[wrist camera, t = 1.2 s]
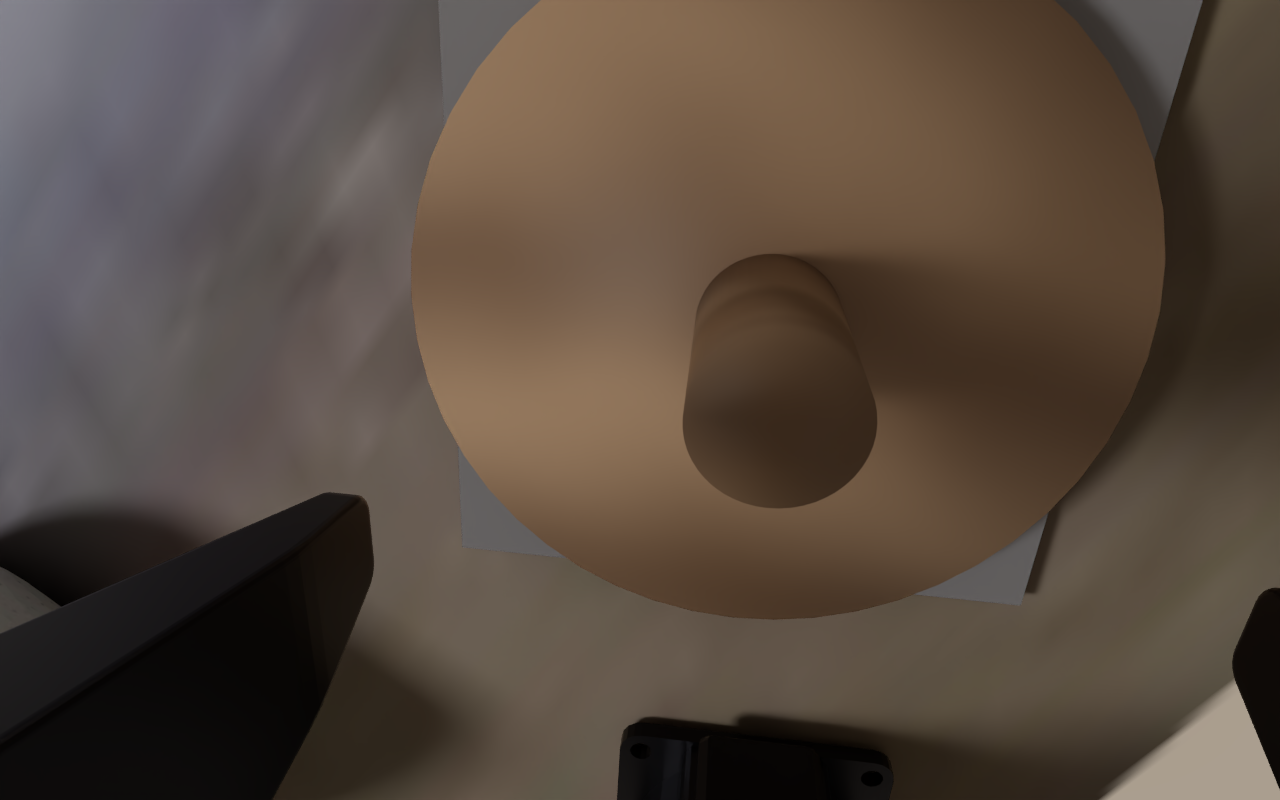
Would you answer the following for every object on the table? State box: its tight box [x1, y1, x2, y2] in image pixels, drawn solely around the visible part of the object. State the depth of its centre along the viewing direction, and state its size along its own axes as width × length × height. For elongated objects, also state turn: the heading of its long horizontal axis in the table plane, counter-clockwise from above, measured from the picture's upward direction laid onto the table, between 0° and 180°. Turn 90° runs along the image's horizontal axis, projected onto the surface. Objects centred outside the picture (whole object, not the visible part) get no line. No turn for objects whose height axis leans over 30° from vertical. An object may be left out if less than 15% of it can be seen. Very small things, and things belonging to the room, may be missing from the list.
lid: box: [411, 0, 1165, 620], centre depth 14 cm, size 13×13×5 cm
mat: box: [438, 0, 1203, 605], centre depth 16 cm, size 12×12×1 cm
